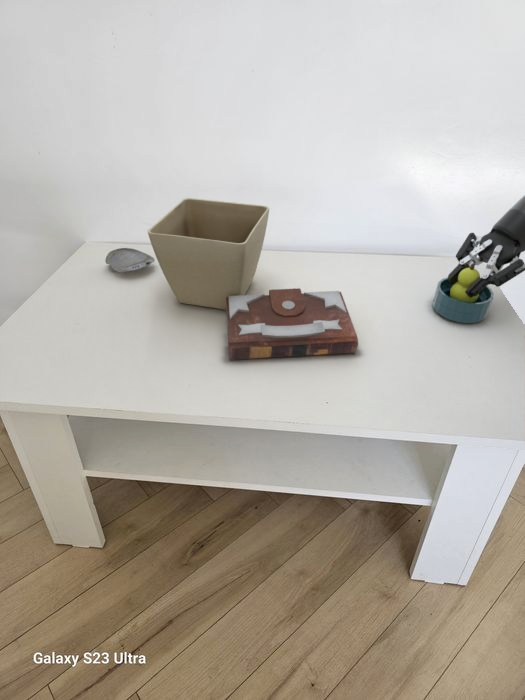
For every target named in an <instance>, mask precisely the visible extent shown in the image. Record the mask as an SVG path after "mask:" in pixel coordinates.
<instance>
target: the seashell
mask: <svg viewBox="0 0 525 700" xmlns="http://www.w3.org/2000/svg"><path fill="white" fill-rule="evenodd" d="M104 261H105V264H106V265H109V266H111V268H112V270H114V271H116V272H118V273H130V272H132V271H134V272H135V271H137V270H141V269H145V268H147V267H149V266H150V265H151V264H153V263H155V261H156V259H155V258H154V257H152V256H151V255H150V254H148V253H146V252H143V251H141V250H139V249H135V248H130V247H120V248H115V249H113V250H110V251H109V252H108V253H107V255H106V257H105V259H104Z"/></svg>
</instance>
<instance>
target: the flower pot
mask: <svg viewBox="0 0 525 700" xmlns="http://www.w3.org/2000/svg"><path fill="white" fill-rule="evenodd" d="M269 213H270V207H269V206H268V205H259V204H252V203H244V202H243V203H241V202H232V201H224V200H212V199H204V198H203V199H201V198H192V197H186V198H183V199H181V200H180V201H179V202H178V203H177V204H175V206H174V207H173V208H172V209H170V210H168V212H167V213H166V214H165V215H163V216H162V217H161V218H160V219H159V220H158V221H157V222H156V223H154V224H153V225H152V226H151V227H150V228H149V229H147V235H148V239H149V241H150V244H151V247H152V250H153V253H154V255H155V257H156V260H157V262H158V264H159V267H160V269H161V272H162V274H163V275H164V278H165V280H166V282H167V283H168V285H169V287H170V289H171V291H172V292H173V295H174V296H175V297H176V299H177V300H178V302H179V303H181V304H187V305H192V306H200V307H205V308H212V309H218V310H224V311H225V310H226V311H227V304H226V297H228V296H238V295H246V294H247V291H249V288H250V286H251V285H252V282H253V280H254V277H255V275H256V271H257V268H258V265H259V262H260V261H259V260H260V257H261V253H262V250H263V246H264V241H265V237H266V233H267V232H266V231H267V225H268V222H269V221H268V220H269Z"/></svg>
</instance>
